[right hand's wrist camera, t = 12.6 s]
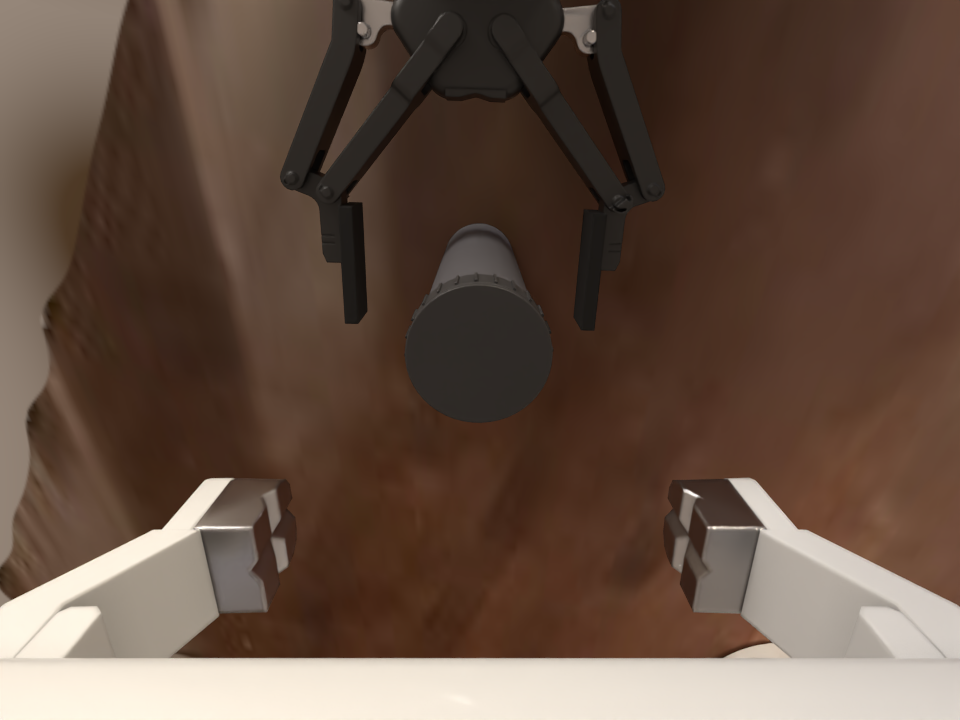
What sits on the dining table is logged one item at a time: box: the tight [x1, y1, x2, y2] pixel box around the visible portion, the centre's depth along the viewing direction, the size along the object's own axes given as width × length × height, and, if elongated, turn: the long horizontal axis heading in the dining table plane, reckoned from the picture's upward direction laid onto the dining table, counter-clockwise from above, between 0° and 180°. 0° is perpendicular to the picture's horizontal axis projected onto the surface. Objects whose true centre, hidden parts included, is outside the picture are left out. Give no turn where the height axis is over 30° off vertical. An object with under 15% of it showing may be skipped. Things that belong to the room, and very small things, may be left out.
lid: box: [405, 272, 553, 423], centre depth 19 cm, size 5×5×2 cm
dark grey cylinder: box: [430, 224, 527, 293], centre depth 28 cm, size 5×5×19 cm
